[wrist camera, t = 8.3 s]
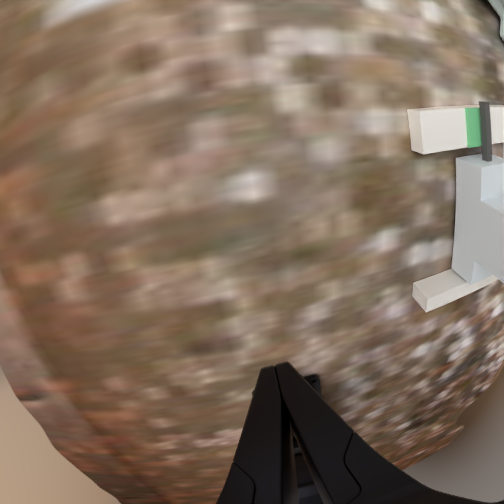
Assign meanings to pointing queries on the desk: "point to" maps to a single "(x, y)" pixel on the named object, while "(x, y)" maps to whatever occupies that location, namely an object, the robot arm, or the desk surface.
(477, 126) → the gauge housing
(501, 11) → the metal bracket
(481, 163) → the gauge plunger
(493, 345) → the desk surface
